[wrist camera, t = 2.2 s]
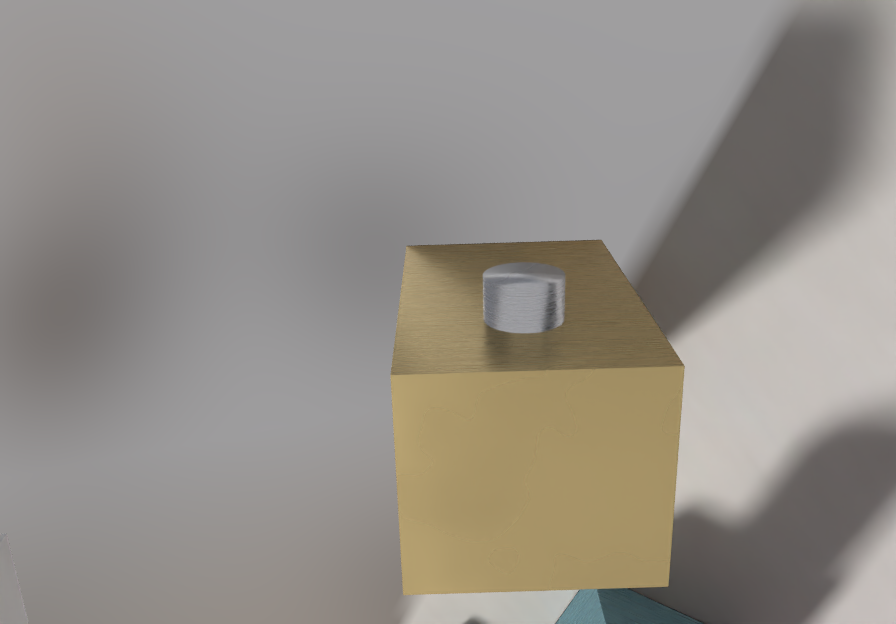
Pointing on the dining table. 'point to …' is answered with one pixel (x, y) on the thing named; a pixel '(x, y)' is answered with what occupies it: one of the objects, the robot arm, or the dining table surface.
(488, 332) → the block
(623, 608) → the shaft
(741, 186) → the dining table surface
